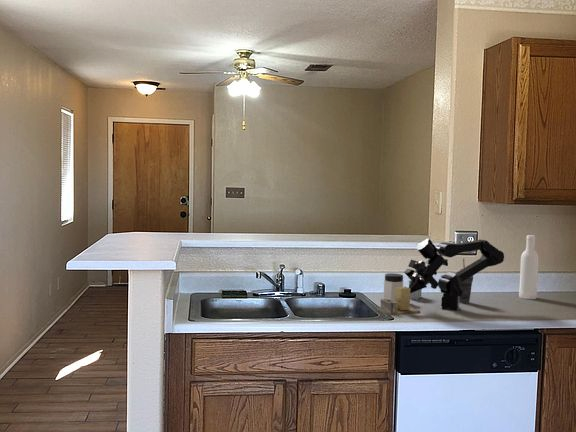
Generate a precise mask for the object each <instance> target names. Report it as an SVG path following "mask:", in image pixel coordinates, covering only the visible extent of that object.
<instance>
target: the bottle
mask: <svg viewBox="0 0 576 432" xmlns="http://www.w3.org/2000/svg"><path fill="white" fill-rule="evenodd" d="M525 240H526V244H525V245H526V246H525V250H524V251H523V252H522V254H521V255H520V272H519V291H518V297H519V299H525V300H536V299H537V295H538V278H539V276H538V275H539V262H540V261H539V257H540V256H539V255H538V253H537V251H536V250H535V246H536V245H535V243H536V235H533V234H528V235H526V237H525Z"/></svg>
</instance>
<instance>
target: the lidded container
mask: <svg viewBox="0 0 576 432" xmlns="http://www.w3.org/2000/svg"><path fill="white" fill-rule="evenodd" d="M383 282H384V283H383V300H384V299H390V300H391V302H395V295H396V287H404V275H403V274H401V273H391V272H390V273H385V274H384V281H383Z"/></svg>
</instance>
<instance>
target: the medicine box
mask: <svg viewBox="0 0 576 432" xmlns="http://www.w3.org/2000/svg"><path fill="white" fill-rule="evenodd" d="M410 283H411V280H410V279H409V280H408V287H409V286H410ZM422 290H423V289H420V290H418V291H415V292H413V293H410V300H416V301H418V300H420V298H421V297H422Z"/></svg>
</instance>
